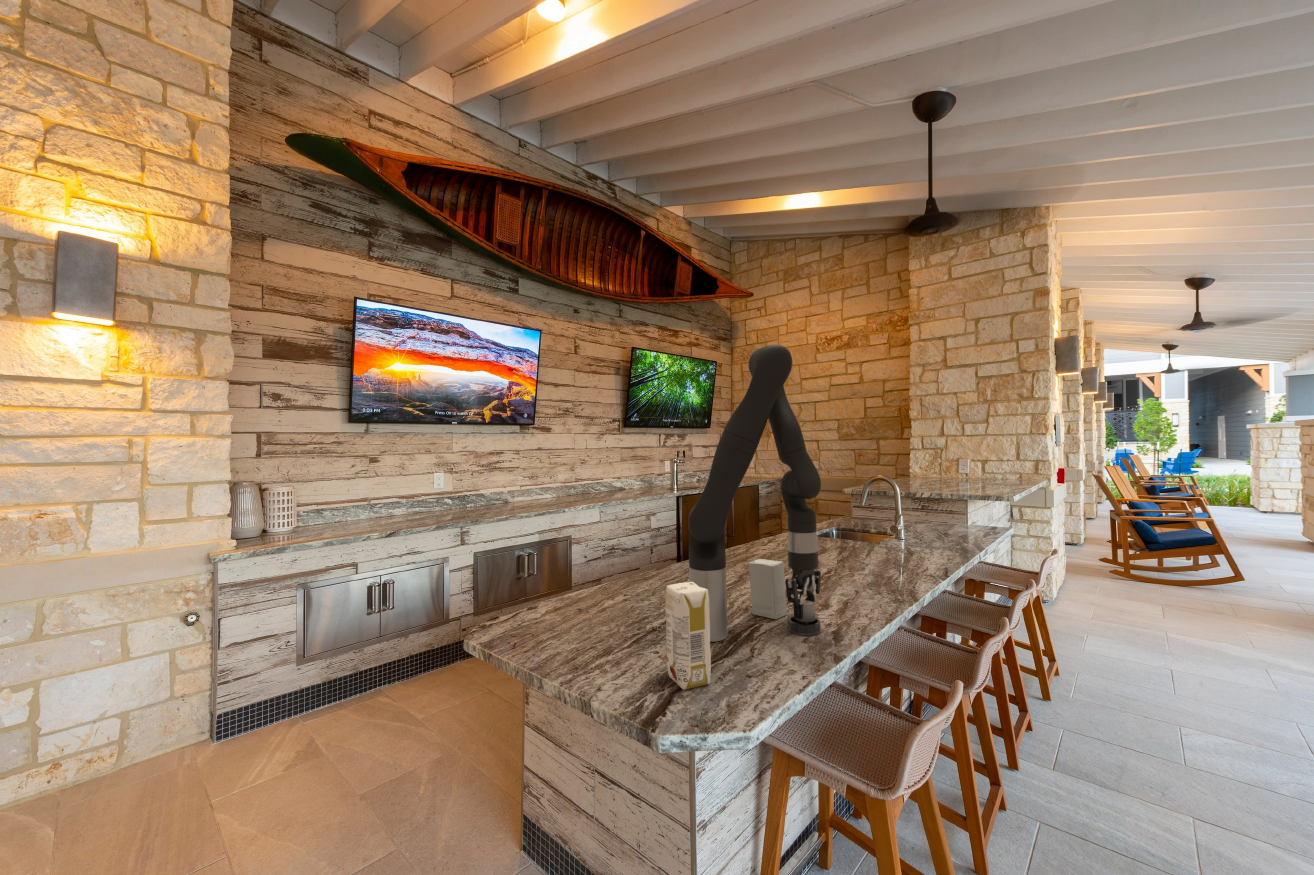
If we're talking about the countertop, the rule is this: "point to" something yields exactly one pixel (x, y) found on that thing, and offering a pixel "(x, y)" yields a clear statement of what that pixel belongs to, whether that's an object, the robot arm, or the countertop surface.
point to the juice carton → (688, 634)
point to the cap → (808, 611)
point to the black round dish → (804, 627)
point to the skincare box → (767, 588)
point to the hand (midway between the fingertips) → (804, 615)
